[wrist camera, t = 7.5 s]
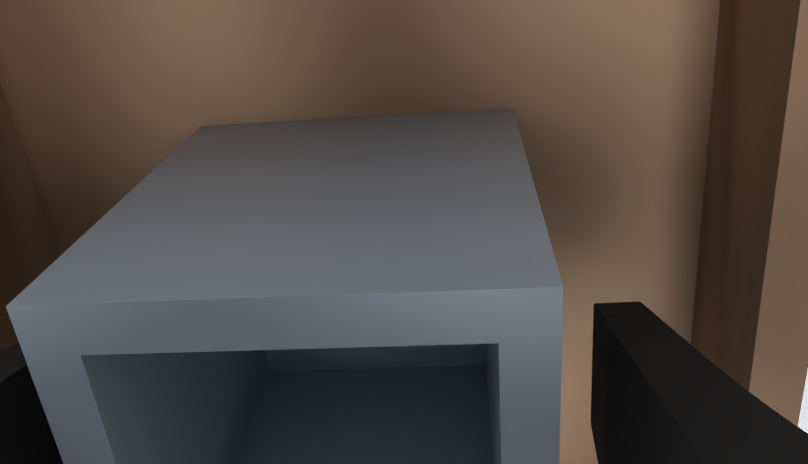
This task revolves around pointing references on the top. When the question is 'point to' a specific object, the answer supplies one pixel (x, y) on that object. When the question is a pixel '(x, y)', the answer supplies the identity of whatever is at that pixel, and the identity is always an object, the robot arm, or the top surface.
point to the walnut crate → (464, 91)
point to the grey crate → (310, 302)
